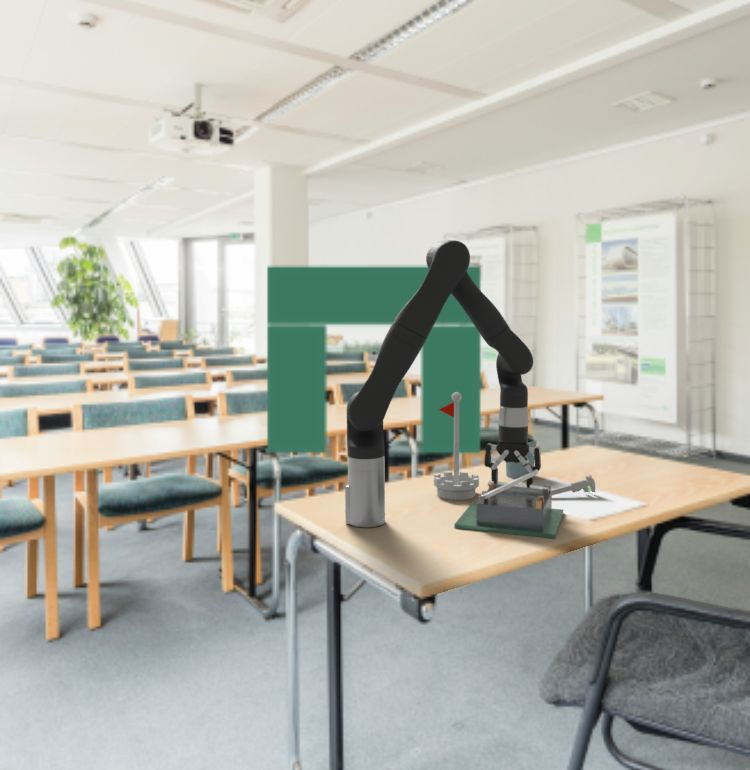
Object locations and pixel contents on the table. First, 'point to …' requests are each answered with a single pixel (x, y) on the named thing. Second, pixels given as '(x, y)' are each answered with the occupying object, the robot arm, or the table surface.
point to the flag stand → (455, 464)
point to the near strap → (510, 484)
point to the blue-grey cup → (517, 468)
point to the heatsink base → (472, 524)
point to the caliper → (576, 486)
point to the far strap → (520, 487)
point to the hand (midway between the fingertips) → (512, 484)
